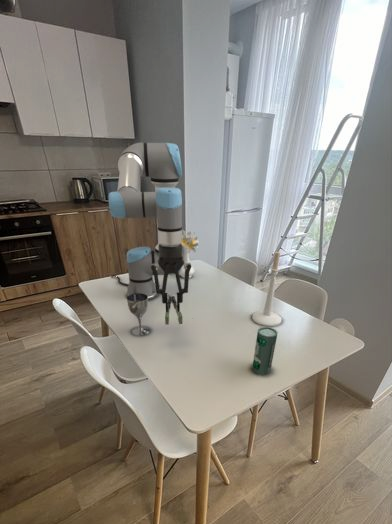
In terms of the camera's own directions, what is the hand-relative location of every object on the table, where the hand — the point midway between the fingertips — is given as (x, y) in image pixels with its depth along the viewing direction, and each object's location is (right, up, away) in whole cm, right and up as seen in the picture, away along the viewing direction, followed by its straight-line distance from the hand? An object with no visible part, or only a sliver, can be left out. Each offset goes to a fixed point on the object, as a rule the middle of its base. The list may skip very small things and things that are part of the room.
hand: (172, 310), depth 106 cm
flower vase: (+3, +29, +70) cm, 76 cm away
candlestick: (+40, 0, +27) cm, 48 cm away
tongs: (0, 0, 0) cm, 0 cm away
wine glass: (-15, -6, +17) cm, 23 cm away
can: (+31, -21, -4) cm, 37 cm away
